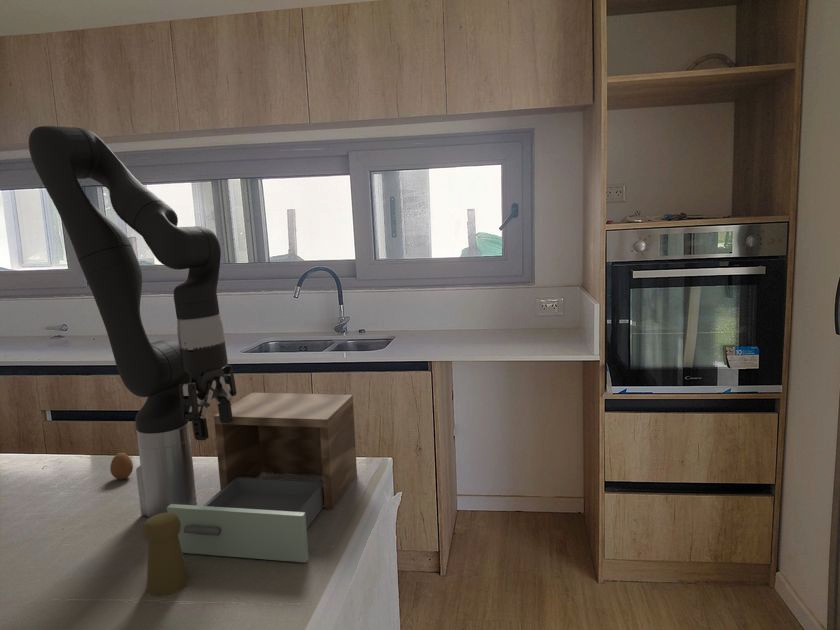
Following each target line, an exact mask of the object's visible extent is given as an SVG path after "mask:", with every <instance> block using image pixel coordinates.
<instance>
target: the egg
mask: <svg viewBox="0 0 840 630" xmlns="http://www.w3.org/2000/svg"><path fill="white" fill-rule="evenodd" d="M109 468H110V475H112V476H113V477H114V478H115V479H116V480H119V479H120V480H126V479H128V477H129V476H131V474H132V473H133V470H134V469H133V468H134V465H133V461H132V459H131V457H129V456H128V455H127V454H126V453H125V452H118V453H117V454H115V455H114V457H113V458H112V460H111V463H110V466H109Z"/></svg>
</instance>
